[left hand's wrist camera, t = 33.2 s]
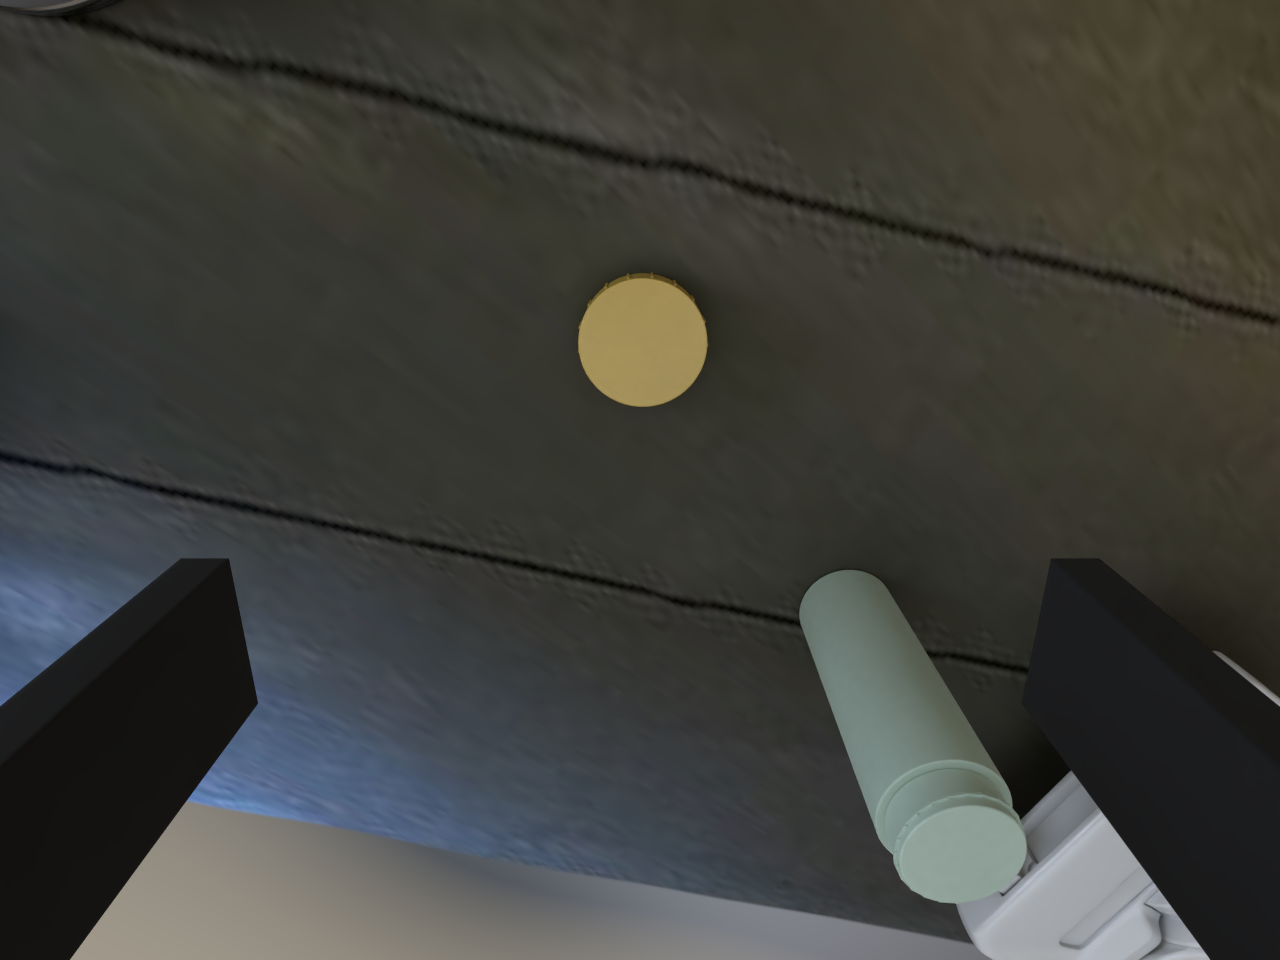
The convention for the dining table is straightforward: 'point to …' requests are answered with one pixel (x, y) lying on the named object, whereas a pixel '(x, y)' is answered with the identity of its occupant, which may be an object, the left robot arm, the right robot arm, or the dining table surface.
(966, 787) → the jar
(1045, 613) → the left robot arm
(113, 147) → the dining table surface
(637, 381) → the lid
